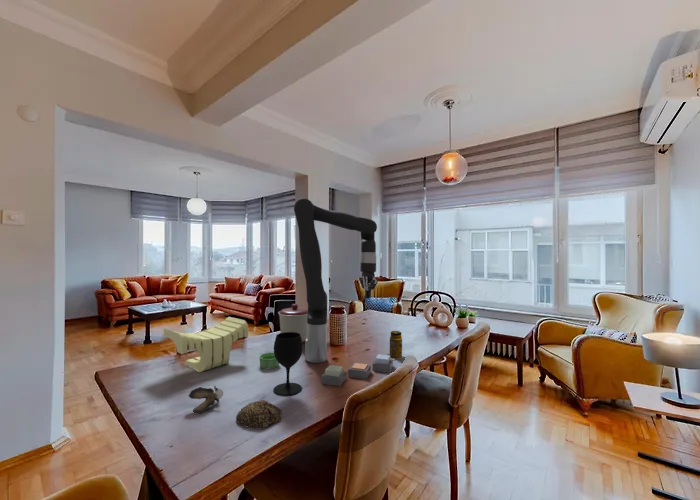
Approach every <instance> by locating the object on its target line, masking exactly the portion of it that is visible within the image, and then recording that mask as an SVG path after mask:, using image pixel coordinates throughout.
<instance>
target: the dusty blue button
mask: <svg viewBox="0 0 700 500" xmlns="http://www.w3.org/2000/svg"><path fill="white" fill-rule="evenodd" d="M375 359H376V363H379V364H388V365H389V363H390V355H387V354H377V356H375Z"/></svg>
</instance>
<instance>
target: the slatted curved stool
mask: <svg viewBox="0 0 700 500" xmlns="http://www.w3.org/2000/svg"><path fill="white" fill-rule="evenodd" d="M163 336H165V337H167V338H169V339H170V340H172V341H173V343H174V345H175V348H176V352H177V353H179V354H181V355H184V354H186V353H188V351H189V352H190V351H195V350H196V351H197V353H198V354H199V356H196V357H194V358H189V359H186V360H185V362H184V364H187V365H189V366H191V367H192V368H195V369H197V370H198V371H200V372H199V373H201V372H204V371H207V370H210V368H211V369H213V368H217V367H220V366H224V365H227V364H229V363H230V355H231V354H230V353H231V350H232V347H233V343H235V342H236V341H237V340H238V339H242V338H249V325H248V322H247V321H246V320H245V319H241V318H236V317H231V316H228V317H226V318H225V320H222V321H221V322H219V324H216V325H215V326H214V327H211V328H208V329H205V330H204V331H203V330H202V331H199V332H194V333H193V332H191V333H190V332H188V333H186V332H177V331H174V330H170V329H166V328H163ZM198 371H197V372H198Z"/></svg>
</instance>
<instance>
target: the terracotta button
mask: <svg viewBox="0 0 700 500" xmlns="http://www.w3.org/2000/svg"><path fill="white" fill-rule="evenodd" d="M354 363H355V364H354V365H353V366H352V369H357V370H366V368H367V367H368V365H369V364H367V363H358V362H354Z"/></svg>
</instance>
